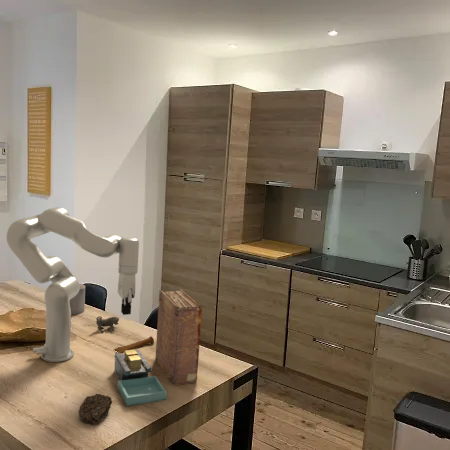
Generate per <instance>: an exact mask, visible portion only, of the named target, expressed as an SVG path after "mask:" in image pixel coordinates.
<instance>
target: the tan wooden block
mask: <svg viewBox="0 0 450 450" xmlns="http://www.w3.org/2000/svg"><path fill="white" fill-rule="evenodd" d="M128 365H129V367H130V368H137V367H141V358H140V356H139V355H135V356H128Z"/></svg>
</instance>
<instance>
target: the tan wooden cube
mask: <svg viewBox="0 0 450 450" xmlns="http://www.w3.org/2000/svg"><path fill="white" fill-rule="evenodd" d="M136 351H137V350H136V349H133V350H126V351H125V353H124V354H125V355H124V358H125V360H126V362H128V356H135V355H138V354H137V352H136Z"/></svg>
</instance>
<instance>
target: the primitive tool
mask: <svg viewBox="0 0 450 450" xmlns="http://www.w3.org/2000/svg"><path fill="white" fill-rule="evenodd" d="M153 344H155V339H154V337H153V336H149V337H148V338H146V339H143V340H140V341H139V340H138V341H137V342H133V343H130V344H126V345H124V346H117V347H115V348H114V349H113V351H114V350H115V351H117V352H119V353H122V354H124V353H123V352H125V351H126V350H136V349H138V348H139V349H140V348H141V347H144V346H147V345H153ZM115 351H114V352H115ZM117 352H116V353H117Z"/></svg>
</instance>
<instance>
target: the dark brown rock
mask: <svg viewBox="0 0 450 450" xmlns="http://www.w3.org/2000/svg"><path fill="white" fill-rule="evenodd" d="M112 404H113V400H112V397H111V396H109V395H105V394H101V393H95V394H94V395H89V396H86V397H85V398H84V400H83V402H82V403H81V404H80V406H79V409H78V417H79V418H80V422H81V423H85V424H90V425H98V423H100V422H101V421H102V420H103V419H104V418H105V417H106V416H107V415H108V414H109V412H110V411H109V410H110V409H111V406H112Z"/></svg>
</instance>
